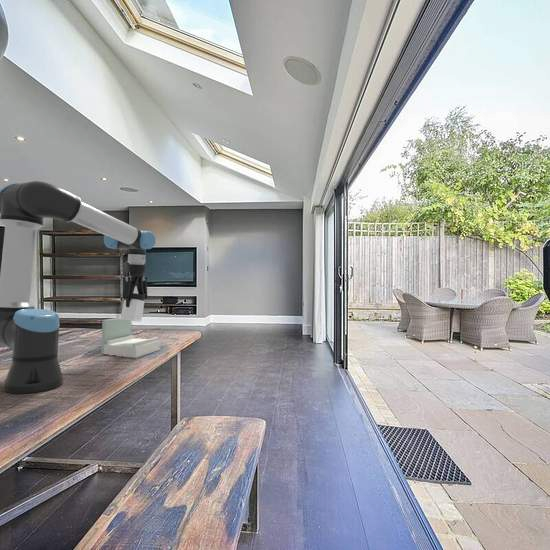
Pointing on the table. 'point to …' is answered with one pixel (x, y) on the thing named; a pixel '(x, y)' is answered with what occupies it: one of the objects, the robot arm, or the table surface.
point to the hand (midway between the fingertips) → (134, 313)
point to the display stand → (125, 340)
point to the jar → (133, 308)
